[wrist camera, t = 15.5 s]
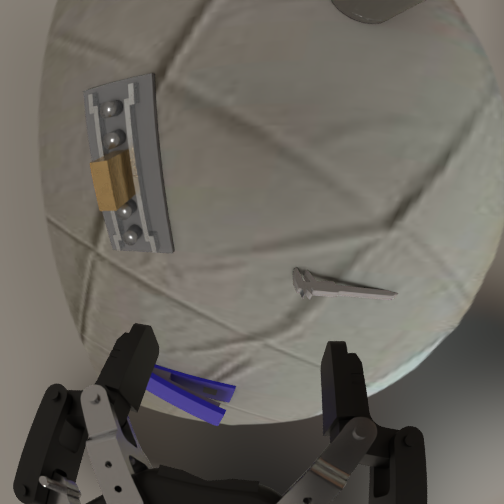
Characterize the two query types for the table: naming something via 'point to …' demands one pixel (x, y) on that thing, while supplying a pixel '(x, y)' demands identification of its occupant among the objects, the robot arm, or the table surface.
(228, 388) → the stapler
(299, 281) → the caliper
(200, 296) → the table surface
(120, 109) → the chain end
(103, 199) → the tall wooden block
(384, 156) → the table surface
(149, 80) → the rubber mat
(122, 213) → the grey studded track end
